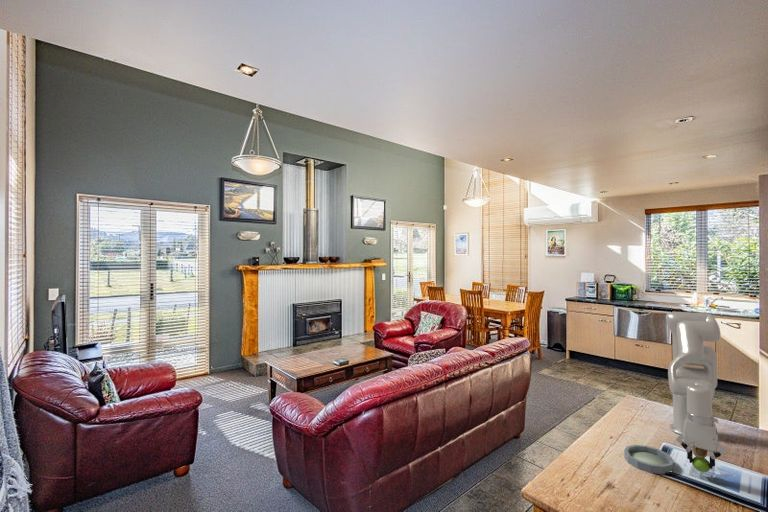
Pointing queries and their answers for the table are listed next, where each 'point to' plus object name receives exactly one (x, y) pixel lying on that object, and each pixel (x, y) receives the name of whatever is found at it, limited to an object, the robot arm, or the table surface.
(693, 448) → the snail figurine
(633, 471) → the table surface
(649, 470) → the ring dish
